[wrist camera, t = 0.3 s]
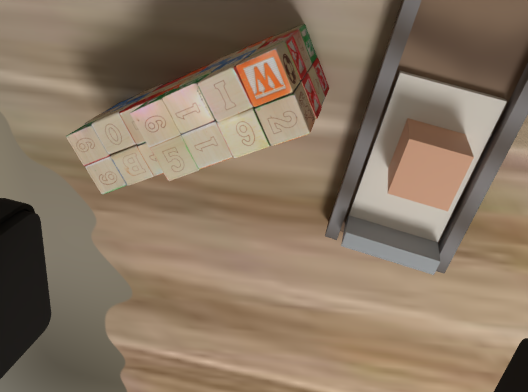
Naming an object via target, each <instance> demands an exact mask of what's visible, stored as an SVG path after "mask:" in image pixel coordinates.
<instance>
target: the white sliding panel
mask: <svg viewBox="0 0 528 392" xmlns="http://www.w3.org/2000/svg"><path fill="white" fill-rule="evenodd" d="M506 103H507V101H506V100H505V99H504V98H500V97H496V96H493V95H489V94H485V93H482V92H478V91H474V90H470V89H467V88H463V87H459V86H456V85H452V84H448V83H444V82H441V81H437V80H433V79H430V78H426V77H422V76H418V75H415V74H411V73H407V72H404V71H400V72H399V75H398V77H397V80H396V83H395V86H394V89H393V91H392V94H391V97H390V100H389V103H388V105H387V108H386V111H385V114H384V117H383V119H382V122H381V125H380V128H379V131H378V133H377V136H376V139H375V142H374V145H373V147H372V150H371V153H370V156H369V159H368V161H367V164H366V167H365V170H364V173H363V175H362V178H361V181H360V184H359V187H358V189H357V192H356V195H355V198H354V200H353V203H352V206H351V209H350V212H349V214H348V217H347V220H346V223H345V227H344V233H343V239H342V245H341V246H343V247H346V248H349V249H352V250H356V251H359V252H362V253H365V254H368V255H372V256H375V257H378V258H381V259H384V260H388V261H391V262H394V263H397V264H400V265H404V266H407V267H410V268H413V269H416V270H420V271H423V272H426V273H429V274H432V275H434V274H435V272H436V270H437V268H438V266H439V264H440V262H441V261H440V254H439V248H438V241H439V239H440V237H441V235H442V233H443V231H444V229H445V227H446V224H447V222H448V220H449V218H450V216H451V214H452V212H453V210H454V208H455V206H456V204H457V202H458V200H459V198H460V196H461V194H462V192H463V190H464V188H465V186H466V184H467V182H468V180H469V178H470V176H471V174H472V172H473V170H474V168H475V166H476V164H477V161H478V159H479V157H480V155H481V153H482V151H483V149H484V147H485V145H486V143H487V141H488V139H489V137H490V135H491V133H492V131H493V129H494V127H495V125H496V123H497V121H498V119H499V117H500V115H501V113H502V111H503V109H504V107H505V105H506ZM407 118H409V119H413V120H416V121H420V122H423V123H427V124H430V125H434V126H438V127H441V128H445V129H448V130H452V131H456V132H459V133H463V134H466V137H467V140H468V142H469V145H470V148H471V150H472V153H473V156H474V158H473V160H472V162H471V164H470V167H469V169H468V171H467V173H466V175H465V177H464V179H463V181H462V183H461V185H460V187H459V189H458V191H457V193H456V195H455V197H454V200H453V202H452V204H451V206H450V208H449V210H448V211H445V210H441V209H438V208H435V207H431V206H428V205H425V204H421V203H418V202H414V201H411V200H408V199H404V198H401V197H398V196H394V195H391V194H388V168H389V165H390V162H391V160H392V157H393V155H394V152H395V149H396V147H397V144H398V142H399V139H400V136H401V134H402V131H403V129H404V126H405V124H406V121H407Z"/></svg>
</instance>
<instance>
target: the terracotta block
mask: <svg viewBox="0 0 528 392" xmlns="http://www.w3.org/2000/svg"><path fill="white" fill-rule="evenodd" d="M473 158H474V156H473V153H472V150H471V148H470V145H469V142H468V140H467V137H466V134H463V133H459V132H456V131H452V130H448V129H445V128H441V127H438V126H434V125H430V124H427V123H423V122H420V121H416V120H413V119H409V118H407V121H406V124H405V126H404V129H403V131H402V134H401V136H400V139H399V142H398V144H397V147H396V149H395V152H394V155H393V157H392V160H391V162H390V165H389V168H388V194H391V195H394V196H398V197H401V198H404V199H408V200H411V201H414V202H418V203H421V204H425V205H428V206H431V207H435V208H438V209H441V210H445V211H448V210H449V208H450V206H451V204H452V202H453V200H454V197H455V195H456V193H457V191H458V189H459V187H460V185H461V183H462V181H463V179H464V177H465V175H466V173H467V171H468V169H469V167H470V164H471V162H472V160H473Z"/></svg>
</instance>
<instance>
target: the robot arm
mask: <svg viewBox="0 0 528 392" xmlns="http://www.w3.org/2000/svg"><path fill="white" fill-rule="evenodd" d="M50 318H51V307H50V299H49V290H48V281H47V273H46V264H45V255H44V246H43V238H42V229H41V221H40V217H39V216H38V214H36V213H35V211H34V209H33V207H32V206H31V205H29V204H26V203H22V202H18V201H14V200H10V199H6V198H0V379H1V378H2V377H3V376H4V375H5V373H6V372H7V371H8V370H9V369H10V368H11V367H12V366H13V365H14V364H15V363H16V361H17V360H18V359H19V358H20V357H21V356H22V355H23V354H24V353H25V352H26V350H27V349H28V348H29V347H30V346H31V345H32V344H33V343H34V342H35V341H36V340H37V339H38V337H39V336H40V335H41V334H42V333H43V332H44V331H45V329H46V328H47V326H48V324H49V322H50ZM494 392H528V338H525V339H523V340H522V341H521V343H520V344H519V346H518V348H517V350H516V352H515V353H514V355H513V357H512V359H511V361H510V363H509V365H508V366H507V368H506V370H505V372H504V374H503V376H502V378H501V379H500V381H499V383H498V385H497V387H496V389H495V391H494Z"/></svg>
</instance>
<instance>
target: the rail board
mask: <svg viewBox="0 0 528 392" xmlns="http://www.w3.org/2000/svg"><path fill="white" fill-rule="evenodd" d="M400 71H404V72H407V73H411V74H415V75H418V76H422V77H426V78H430V79H433V80H437V81H441V82H444V83H448V84H452V85H456V86H459V87H463V88H467V89H470V90H474V91H478V92H482V93H485V94H489V95H493V96H496V97H500V98H504V99H505V100H506V101H507V103H506V105H505V107H504V109H503V111H502V113H501V115H500V117H499V119H498V121H497V123H496V125H495V127H494V129H493V131H492V133H491V135H490V137H489V139H488V141H487V143H486V145H485V147H484V149H483V151H482V153H481V155H480V157H479V159H478V161H477V164H476V166H475V168H474V170H473V172H472V174H471V176H470V178H469V180H468V182H467V184H466V186H465V188H464V190H463V192H462V194H461V196H460V198H459V200H458V202H457V204H456V206H455V208H454V210H453V212H452V214H451V216H450V218H449V220H448V222H447V224H446V227H445V229H444V231H443V233H442V235H441V237H440V239H439V241H438V248H439V254H440V261H441V262H440V264H439V266H438V268H437V270H436V271H438V272H441V273H445V271H446V269H447V268H448V266H449V264H450V262H451V260H452V258H453V256H454V254H455V252H456V250H457V248H458V247H459V245H460V243H461V241H462V239H463V237H464V235H465V233H466V231H467V229H468V227H469V225H470V224H471V222H472V220H473V218H474V216H475V214H476V212H477V210H478V208H479V206H480V204H481V203H482V201H483V199H484V197H485V195H486V193H487V191H488V189H489V187H490V185H491V183H492V182H493V180H494V178H495V176H496V174H497V172H498V170H499V168H500V166H501V164H502V162H503V160H504V159H505V157H506V155H507V153H508V151H509V149H510V147H511V145H512V143H513V141H514V139H515V138H516V136H517V134H518V132H519V130H520V128H521V126H522V124H523V122H524V120H525V118H526V117H527V115H528V0H402V3H401V6H400V9H399V12H398V15H397V18H396V21H395V24H394V27H393V30H392V33H391V36H390V39H389V42H388V45H387V48H386V51H385V54H384V57H383V60H382V63H381V66H380V69H379V72H378V75H377V78H376V81H375V84H374V87H373V90H372V93H371V96H370V99H369V102H368V105H367V108H366V111H365V114H364V117H363V120H362V123H361V126H360V129H359V132H358V135H357V138H356V141H355V144H354V147H353V150H352V153H351V156H350V159H349V162H348V165H347V168H346V171H345V174H344V177H343V180H342V183H341V186H340V189H339V192H338V195H337V198H336V201H335V204H334V207H333V210H332V213H331V216H330V219H329V222H328V226H327V230H326V234H325V236H326V237H329V238H332V239H335V240H337V238H338V235H339V232H340V231H342V232H344V227H345V223H346V220H347V217H348V214H349V212H350V209H351V206H352V203H353V200H354V198H355V195H356V192H357V189H358V187H359V184H360V181H361V178H362V175H363V173H364V170H365V167H366V164H367V161H368V159H369V156H370V153H371V150H372V147H373V145H374V142H375V139H376V136H377V133H378V131H379V128H380V125H381V122H382V119H383V117H384V114H385V111H386V108H387V105H388V103H389V100H390V97H391V94H392V91H393V89H394V86H395V83H396V80H397V77H398V75H399V72H400Z"/></svg>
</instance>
